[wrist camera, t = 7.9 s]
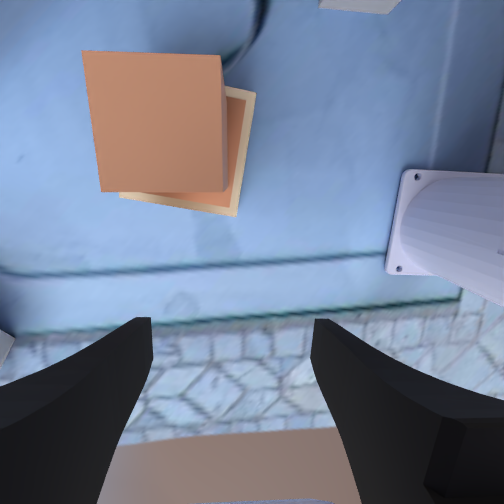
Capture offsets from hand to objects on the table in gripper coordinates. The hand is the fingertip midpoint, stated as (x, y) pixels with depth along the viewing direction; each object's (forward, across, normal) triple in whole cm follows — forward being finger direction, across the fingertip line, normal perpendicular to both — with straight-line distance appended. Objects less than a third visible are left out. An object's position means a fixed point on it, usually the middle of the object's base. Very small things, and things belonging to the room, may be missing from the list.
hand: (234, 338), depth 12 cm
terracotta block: (+6, +3, -8) cm, 11 cm away
